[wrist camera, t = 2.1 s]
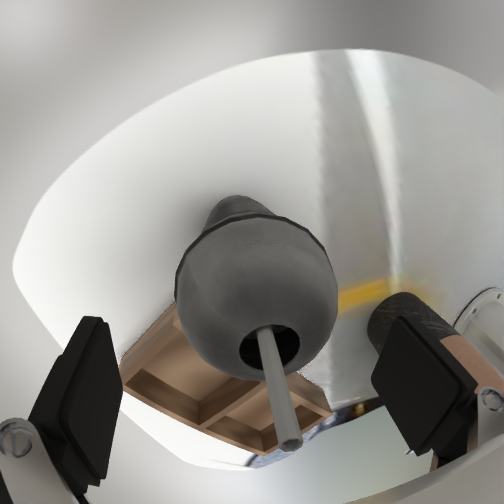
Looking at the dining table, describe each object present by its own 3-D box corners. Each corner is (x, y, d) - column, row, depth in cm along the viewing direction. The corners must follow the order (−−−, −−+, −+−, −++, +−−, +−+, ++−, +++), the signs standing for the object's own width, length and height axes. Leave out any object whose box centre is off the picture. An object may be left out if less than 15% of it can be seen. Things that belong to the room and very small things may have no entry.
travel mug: (351, 334, 30) (445, 492, 11) (397, 277, 28) (532, 413, 9) (391, 354, 32) (475, 482, 13) (432, 306, 30) (540, 419, 12)
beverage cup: (210, 276, 25) (215, 522, 7) (179, 195, 23) (67, 408, 4) (292, 249, 25) (421, 461, 7) (268, 165, 23) (462, 286, 4)
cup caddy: (322, 389, 32) (332, 414, 29) (259, 431, 34) (263, 456, 31) (183, 292, 26) (178, 318, 22) (122, 357, 28) (113, 384, 24)
